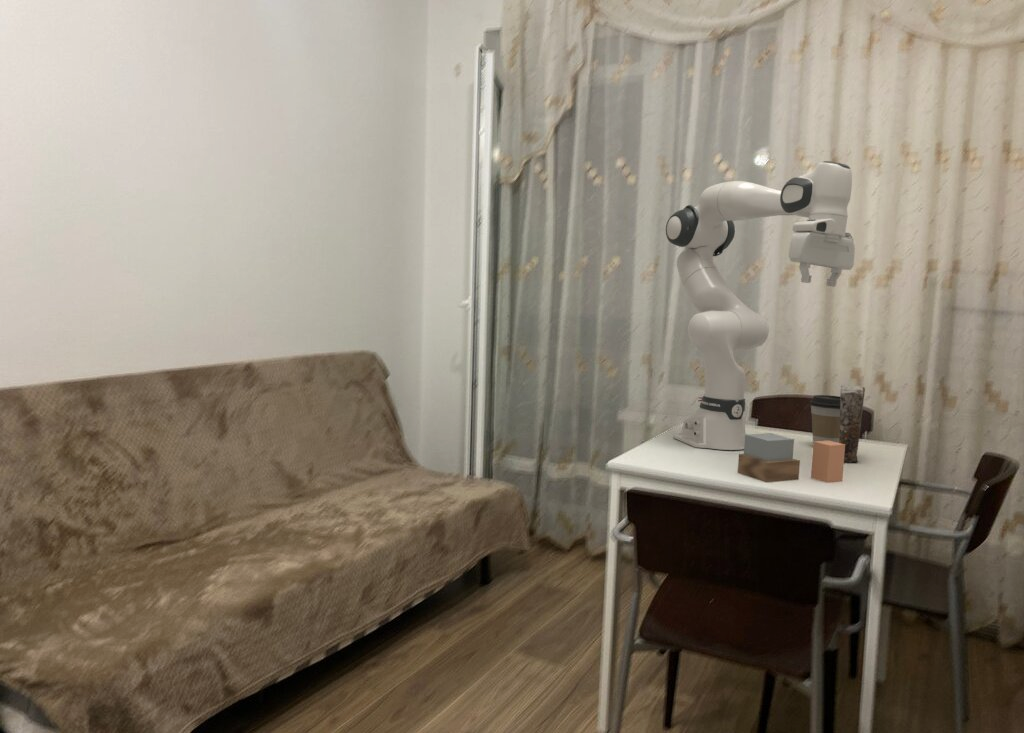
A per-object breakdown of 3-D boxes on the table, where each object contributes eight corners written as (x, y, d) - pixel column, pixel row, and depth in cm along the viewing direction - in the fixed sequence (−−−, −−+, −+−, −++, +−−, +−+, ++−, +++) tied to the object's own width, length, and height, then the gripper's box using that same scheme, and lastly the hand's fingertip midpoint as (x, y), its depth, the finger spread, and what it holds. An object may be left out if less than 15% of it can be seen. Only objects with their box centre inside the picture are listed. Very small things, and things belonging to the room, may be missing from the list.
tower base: (737, 473, 195) (738, 454, 195) (768, 471, 200) (770, 451, 199) (766, 483, 186) (768, 462, 186) (798, 480, 191) (799, 460, 190)
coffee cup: (856, 450, 231) (860, 399, 229) (825, 452, 226) (829, 400, 225) (827, 443, 241) (831, 394, 240) (797, 444, 237) (801, 394, 235)
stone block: (832, 453, 225) (837, 383, 224) (858, 455, 223) (864, 385, 221) (835, 462, 213) (841, 388, 211) (863, 464, 211) (870, 390, 209)
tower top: (743, 454, 194) (745, 434, 194) (768, 452, 198) (770, 433, 197) (766, 461, 187) (768, 440, 187) (792, 459, 190) (794, 439, 190)
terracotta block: (810, 477, 193) (813, 441, 192) (825, 476, 195) (828, 440, 194) (826, 482, 188) (829, 445, 188) (842, 481, 191) (845, 444, 190)
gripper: (842, 233, 203) (835, 287, 204) (788, 223, 193) (780, 279, 194) (864, 233, 198) (856, 289, 199) (809, 222, 187) (801, 281, 189)
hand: (818, 284), depth 196 cm, fingers open, 8 cm apart
